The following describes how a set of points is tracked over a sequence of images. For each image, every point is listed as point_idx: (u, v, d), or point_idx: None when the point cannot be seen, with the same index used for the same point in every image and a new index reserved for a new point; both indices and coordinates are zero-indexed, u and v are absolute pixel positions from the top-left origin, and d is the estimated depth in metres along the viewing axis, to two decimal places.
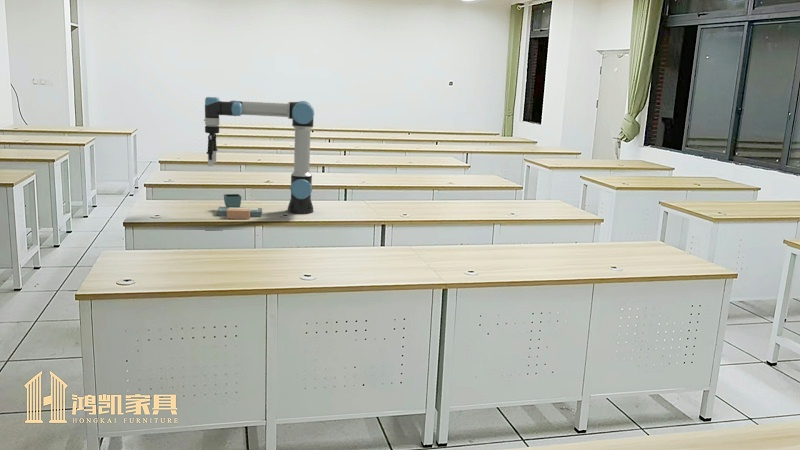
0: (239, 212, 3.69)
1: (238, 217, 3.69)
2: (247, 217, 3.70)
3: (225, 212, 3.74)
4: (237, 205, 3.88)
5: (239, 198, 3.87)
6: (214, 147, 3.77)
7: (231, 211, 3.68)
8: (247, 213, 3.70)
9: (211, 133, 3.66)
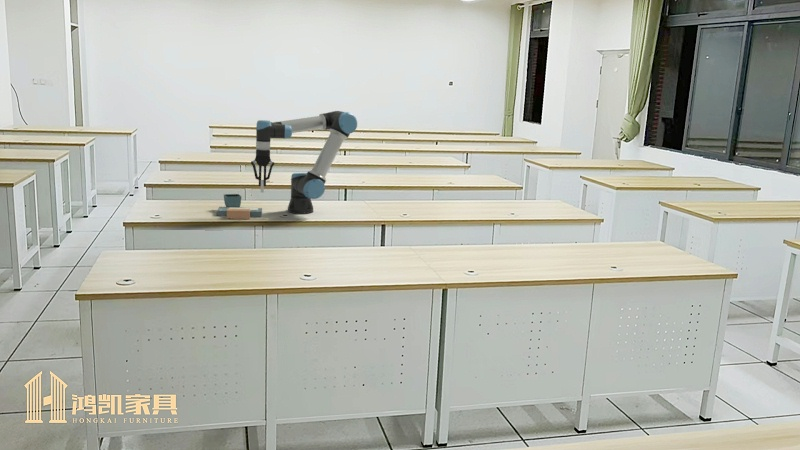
0: (239, 212, 3.69)
1: (238, 217, 3.69)
2: (247, 217, 3.70)
3: (225, 212, 3.74)
4: (237, 205, 3.88)
5: (239, 198, 3.87)
6: None
7: (231, 211, 3.68)
8: (247, 213, 3.70)
9: None
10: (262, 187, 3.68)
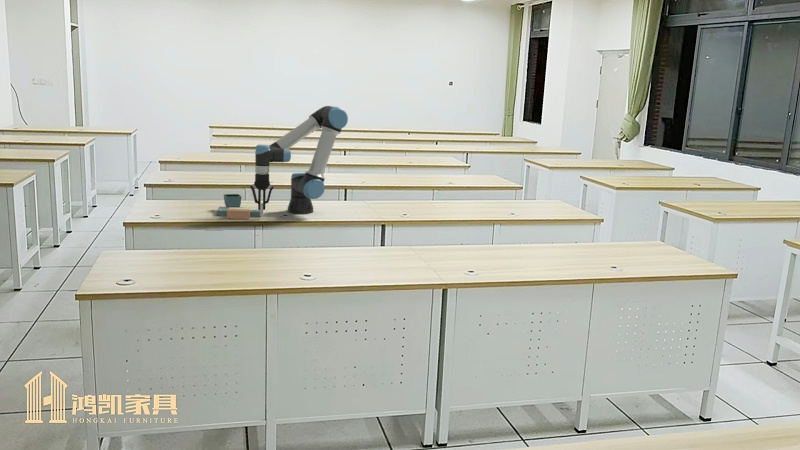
0: (239, 212, 3.69)
1: (238, 217, 3.69)
2: (247, 217, 3.70)
3: (225, 212, 3.74)
4: (237, 205, 3.88)
5: (239, 198, 3.87)
6: (263, 198, 3.70)
7: (231, 211, 3.68)
8: (247, 213, 3.70)
9: None
10: (261, 211, 3.71)
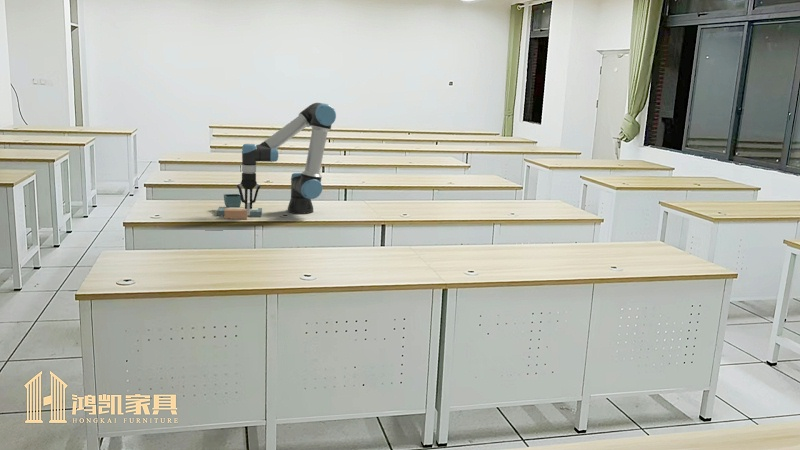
0: (237, 212, 3.69)
1: (236, 217, 3.69)
2: (245, 217, 3.70)
3: None
4: (237, 205, 3.88)
5: (239, 198, 3.87)
6: None
7: (229, 211, 3.68)
8: (245, 213, 3.69)
9: None
10: (248, 210, 3.69)
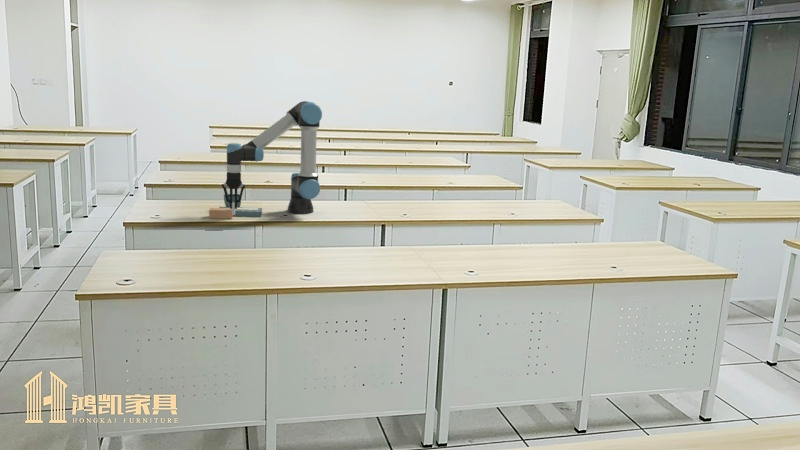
0: (222, 212, 3.67)
1: (221, 217, 3.68)
2: (230, 217, 3.69)
3: None
4: (237, 205, 3.88)
5: None
6: None
7: (214, 211, 3.67)
8: (230, 213, 3.68)
9: None
10: (233, 210, 3.68)
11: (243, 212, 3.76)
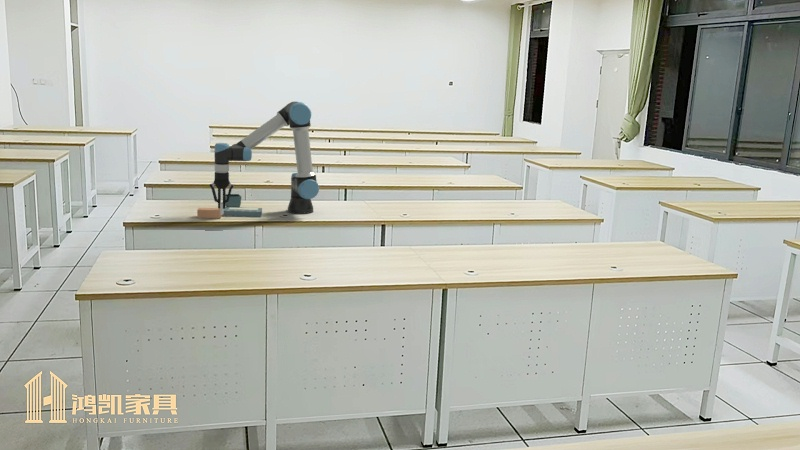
0: (210, 211, 3.67)
1: (209, 216, 3.67)
2: (218, 216, 3.68)
3: (225, 212, 3.74)
4: (237, 205, 3.88)
5: (239, 198, 3.87)
6: None
7: (202, 210, 3.66)
8: (218, 212, 3.67)
9: None
10: (221, 210, 3.67)
11: (243, 212, 3.76)
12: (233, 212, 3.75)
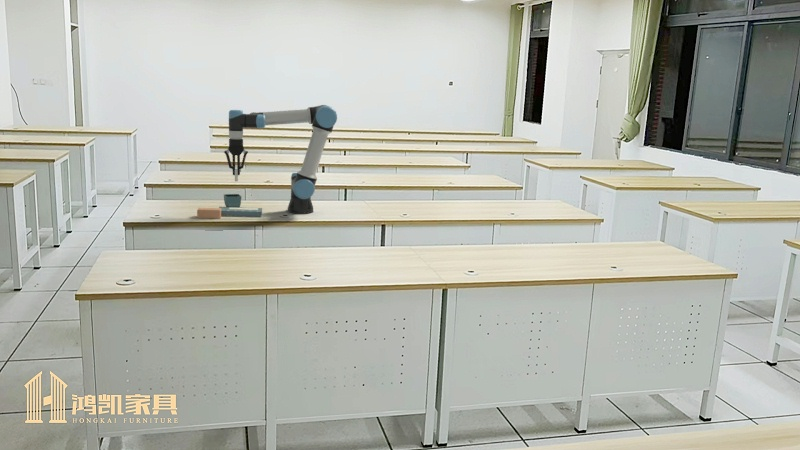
0: (210, 211, 3.67)
1: (209, 216, 3.67)
2: (218, 216, 3.68)
3: (225, 212, 3.74)
4: (237, 205, 3.88)
5: (239, 198, 3.87)
6: (237, 163, 3.71)
7: (201, 210, 3.66)
8: (218, 212, 3.67)
9: None
10: (236, 176, 3.72)
11: (243, 212, 3.76)
12: (233, 212, 3.75)
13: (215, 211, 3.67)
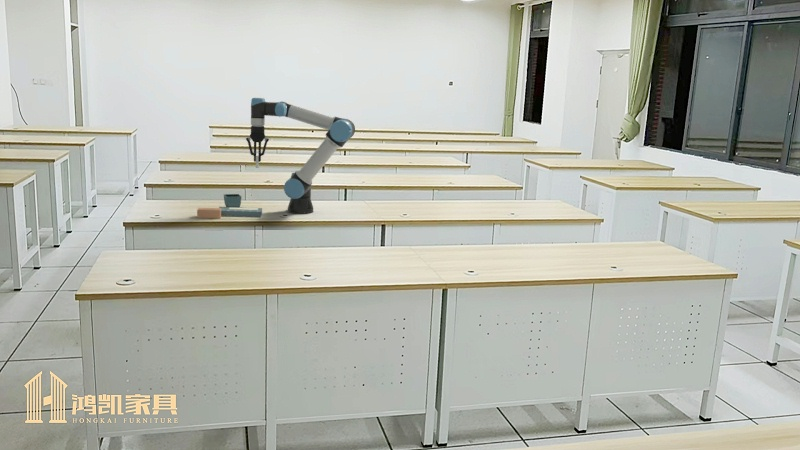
0: (210, 211, 3.67)
1: (209, 216, 3.67)
2: (218, 216, 3.68)
3: (225, 212, 3.74)
4: (237, 205, 3.88)
5: (239, 198, 3.87)
6: None
7: (201, 210, 3.66)
8: (218, 212, 3.67)
9: None
10: (257, 163, 3.80)
11: (243, 212, 3.76)
12: (233, 212, 3.75)
13: (215, 211, 3.67)
